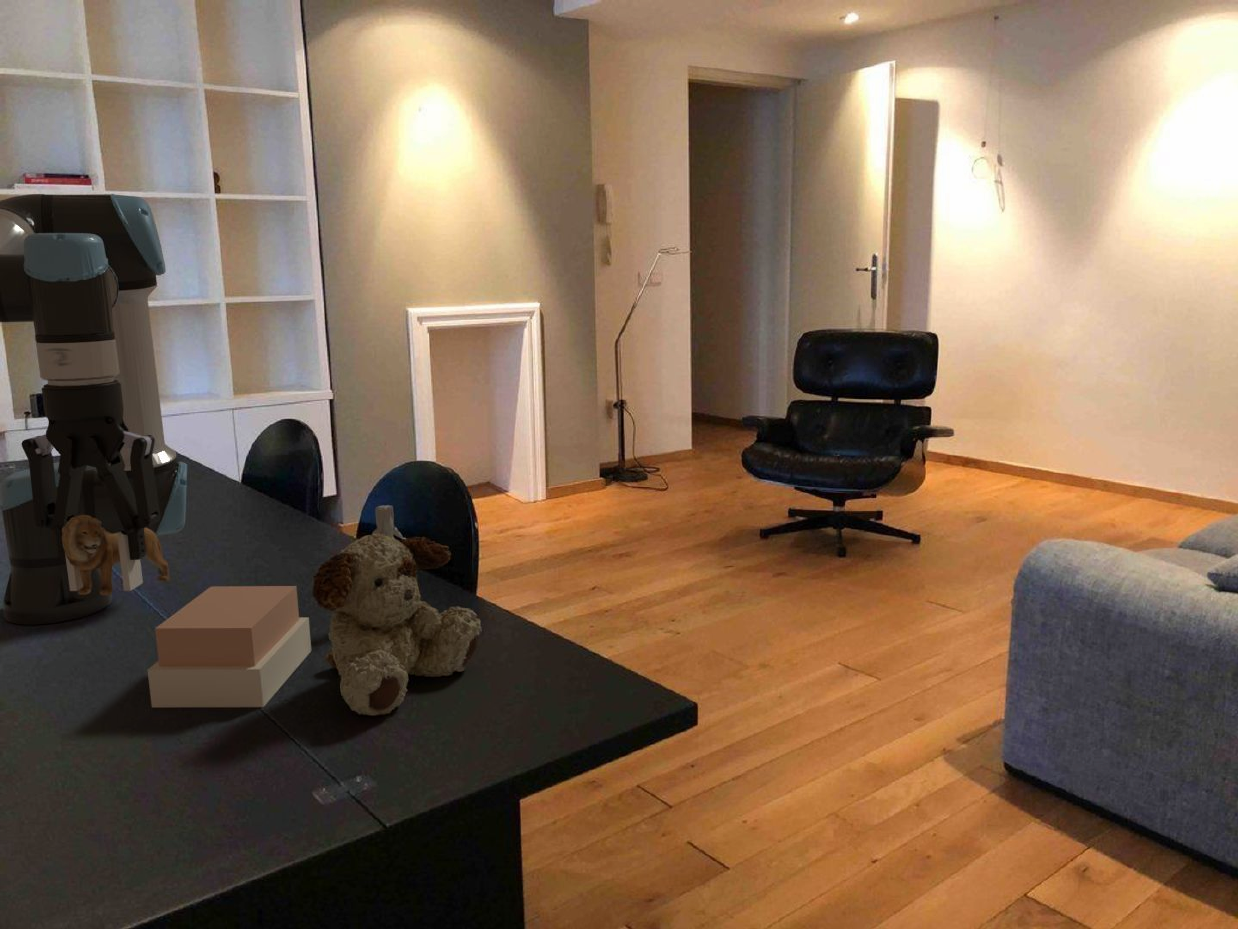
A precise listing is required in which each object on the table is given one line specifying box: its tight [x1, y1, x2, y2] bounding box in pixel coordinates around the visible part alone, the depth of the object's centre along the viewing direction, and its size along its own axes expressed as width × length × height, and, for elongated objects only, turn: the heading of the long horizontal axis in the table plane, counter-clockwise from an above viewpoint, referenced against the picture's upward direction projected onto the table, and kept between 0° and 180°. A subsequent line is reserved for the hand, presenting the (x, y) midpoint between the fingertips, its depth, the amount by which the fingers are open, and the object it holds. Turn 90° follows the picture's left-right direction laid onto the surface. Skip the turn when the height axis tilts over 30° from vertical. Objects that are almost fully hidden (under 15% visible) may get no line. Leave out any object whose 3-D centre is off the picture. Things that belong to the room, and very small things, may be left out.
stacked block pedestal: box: [147, 585, 312, 708], centre depth 129 cm, size 14×18×10 cm
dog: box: [311, 534, 483, 716], centre depth 127 cm, size 23×19×20 cm
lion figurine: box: [62, 515, 170, 595], centre depth 111 cm, size 15×5×9 cm, turn 168°
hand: (106, 586), depth 110 cm, fingers closed on lion figurine, 5 cm apart
